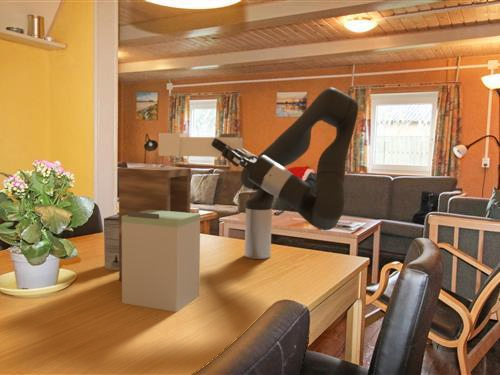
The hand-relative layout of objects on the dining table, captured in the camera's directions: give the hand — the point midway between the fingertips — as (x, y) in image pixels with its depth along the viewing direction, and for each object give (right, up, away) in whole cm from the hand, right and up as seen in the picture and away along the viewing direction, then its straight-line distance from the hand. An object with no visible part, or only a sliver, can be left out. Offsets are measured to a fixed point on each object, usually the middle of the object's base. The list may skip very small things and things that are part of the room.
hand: (217, 141), depth 113 cm
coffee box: (-33, -37, +25) cm, 55 cm away
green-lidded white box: (-14, -40, -4) cm, 43 cm away
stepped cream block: (-4, -4, +2) cm, 6 cm away
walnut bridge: (-19, -38, +14) cm, 45 cm away
